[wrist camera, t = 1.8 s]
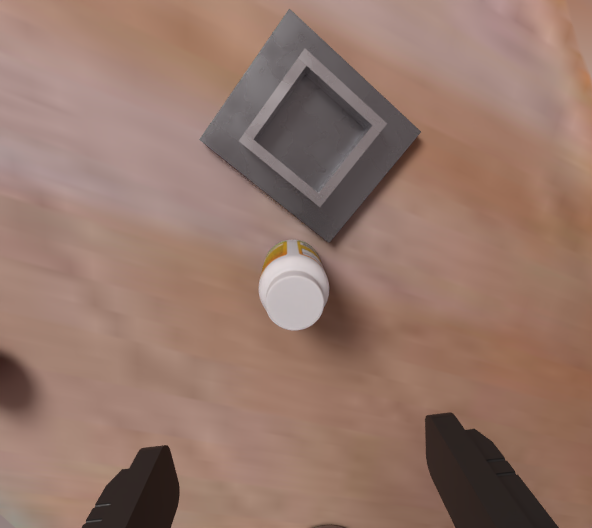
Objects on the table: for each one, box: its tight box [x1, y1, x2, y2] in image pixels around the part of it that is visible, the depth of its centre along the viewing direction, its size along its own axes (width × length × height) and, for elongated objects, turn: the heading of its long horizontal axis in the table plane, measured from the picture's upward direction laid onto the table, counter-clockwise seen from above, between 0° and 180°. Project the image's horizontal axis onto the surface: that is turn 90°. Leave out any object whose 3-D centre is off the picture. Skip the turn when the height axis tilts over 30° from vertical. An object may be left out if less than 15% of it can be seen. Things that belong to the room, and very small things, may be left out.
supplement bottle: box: [259, 240, 329, 330], centre depth 27 cm, size 5×5×10 cm
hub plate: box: [199, 9, 421, 243], centre depth 27 cm, size 14×12×3 cm
